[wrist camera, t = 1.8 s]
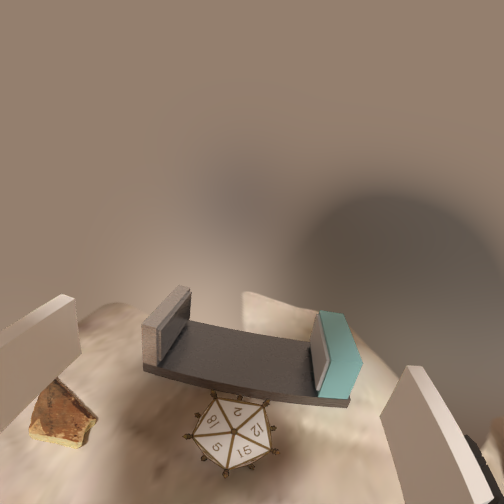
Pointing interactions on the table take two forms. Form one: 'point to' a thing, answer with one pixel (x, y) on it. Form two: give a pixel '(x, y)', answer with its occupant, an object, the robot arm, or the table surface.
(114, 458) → the table surface
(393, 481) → the table surface
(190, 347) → the vise bed
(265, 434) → the game die
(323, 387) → the block
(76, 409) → the shard
